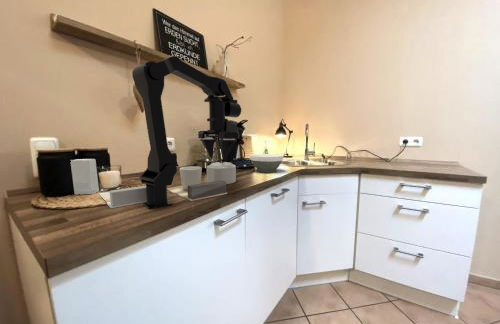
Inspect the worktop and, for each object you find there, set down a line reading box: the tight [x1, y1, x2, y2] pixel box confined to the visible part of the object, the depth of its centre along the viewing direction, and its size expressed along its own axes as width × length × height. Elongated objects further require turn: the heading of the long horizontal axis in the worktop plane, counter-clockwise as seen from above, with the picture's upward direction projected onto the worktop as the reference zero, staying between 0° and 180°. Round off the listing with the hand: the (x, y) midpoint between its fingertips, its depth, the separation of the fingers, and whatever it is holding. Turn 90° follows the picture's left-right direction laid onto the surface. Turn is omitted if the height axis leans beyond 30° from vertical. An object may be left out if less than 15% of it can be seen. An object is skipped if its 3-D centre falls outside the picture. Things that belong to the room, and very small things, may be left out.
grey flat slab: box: [98, 185, 147, 209], centre depth 74 cm, size 20×14×4 cm
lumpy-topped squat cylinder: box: [206, 161, 237, 185], centre depth 99 cm, size 10×13×9 cm
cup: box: [179, 165, 203, 190], centre depth 84 cm, size 11×8×8 cm
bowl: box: [249, 153, 284, 174], centre depth 130 cm, size 20×20×10 cm
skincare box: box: [70, 158, 100, 196], centre depth 78 cm, size 6×4×12 cm
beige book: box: [167, 180, 228, 202], centre depth 81 cm, size 20×14×4 cm
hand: (217, 158), depth 83 cm, fingers open, 9 cm apart
